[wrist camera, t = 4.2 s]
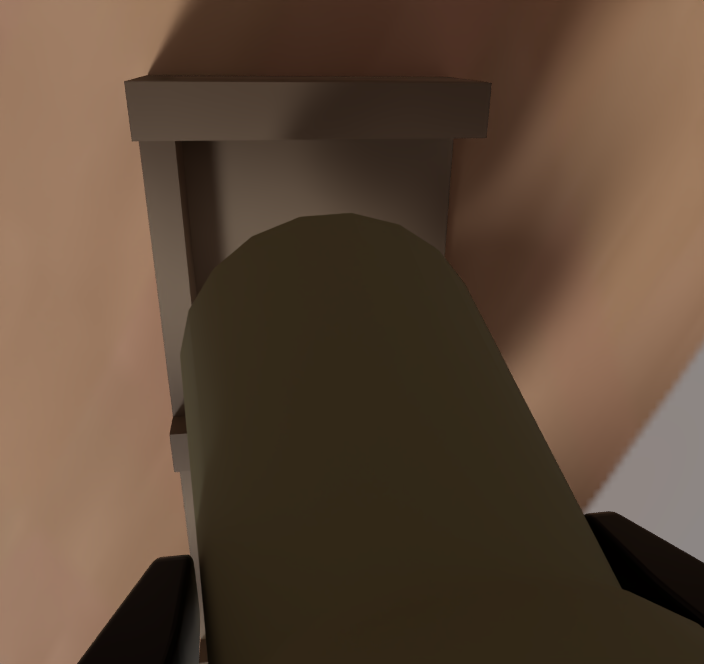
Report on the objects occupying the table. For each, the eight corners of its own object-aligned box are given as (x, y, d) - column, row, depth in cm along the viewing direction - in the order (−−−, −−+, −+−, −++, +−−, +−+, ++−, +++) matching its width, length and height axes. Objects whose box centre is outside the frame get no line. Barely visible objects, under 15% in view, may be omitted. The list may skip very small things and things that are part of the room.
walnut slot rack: (413, 584, 25) (437, 657, 22) (207, 608, 24) (202, 688, 21) (449, 77, 17) (491, 83, 14) (146, 75, 16) (124, 81, 13)
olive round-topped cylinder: (135, 255, 11) (-711, 1821, 1) (459, 179, 12) (1771, 943, 2) (229, 513, 14) (190, 1698, 4) (492, 443, 14) (1077, 1365, 4)
